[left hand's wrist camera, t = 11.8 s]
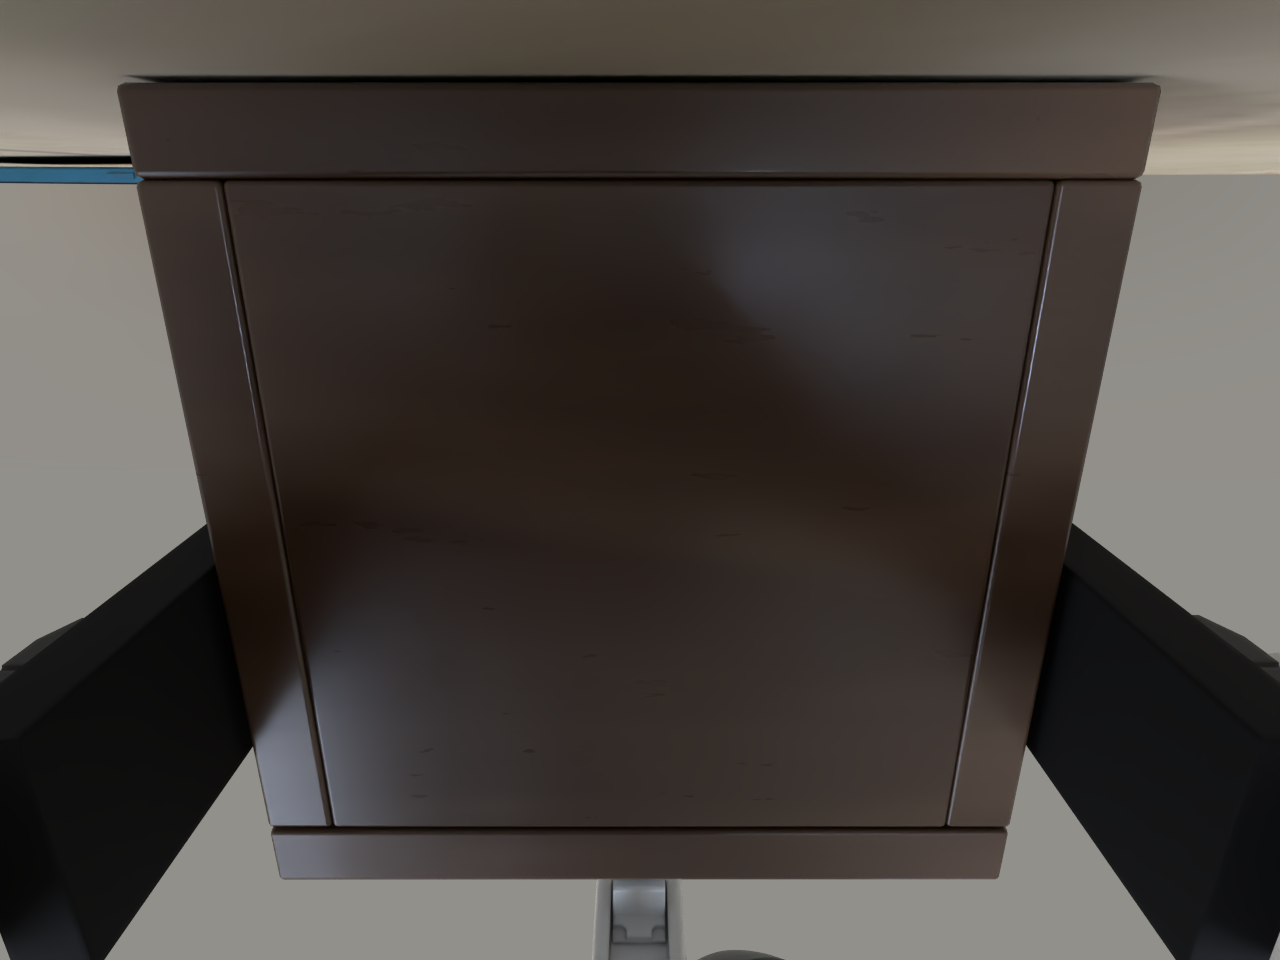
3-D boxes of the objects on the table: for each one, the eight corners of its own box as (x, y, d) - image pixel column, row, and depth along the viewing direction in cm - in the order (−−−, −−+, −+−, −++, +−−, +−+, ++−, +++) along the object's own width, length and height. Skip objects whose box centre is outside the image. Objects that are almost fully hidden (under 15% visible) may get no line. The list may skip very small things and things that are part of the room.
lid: (806, 478, 23) (788, 711, 26) (472, 478, 23) (490, 711, 26) (1010, 832, 11) (930, 1210, 13) (268, 832, 10) (347, 1211, 13)
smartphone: (-155, 180, 26) (264, 184, 24) (-161, 161, 26) (261, 163, 23) (46, 183, 33) (382, 186, 31) (42, 168, 33) (380, 170, 31)
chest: (839, 148, 20) (812, 486, 23) (439, 148, 20) (467, 486, 23) (1166, 81, 7) (1011, 829, 10) (111, 81, 7) (267, 829, 10)
